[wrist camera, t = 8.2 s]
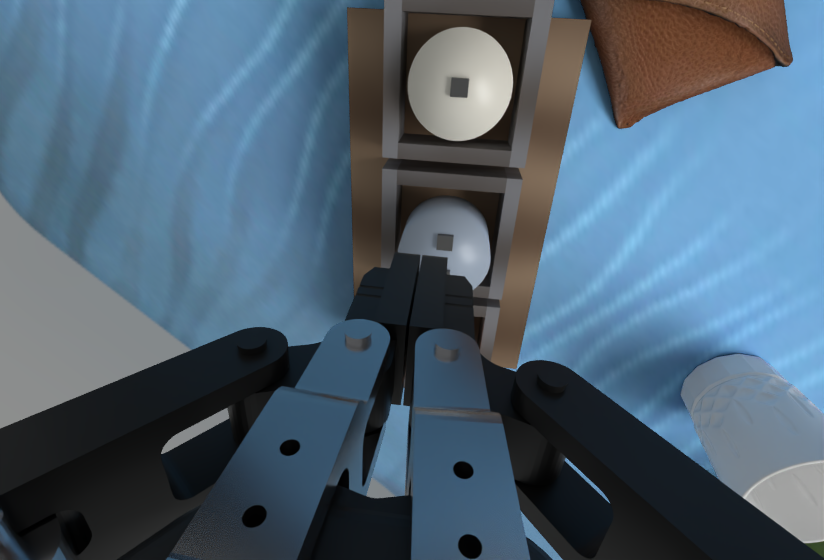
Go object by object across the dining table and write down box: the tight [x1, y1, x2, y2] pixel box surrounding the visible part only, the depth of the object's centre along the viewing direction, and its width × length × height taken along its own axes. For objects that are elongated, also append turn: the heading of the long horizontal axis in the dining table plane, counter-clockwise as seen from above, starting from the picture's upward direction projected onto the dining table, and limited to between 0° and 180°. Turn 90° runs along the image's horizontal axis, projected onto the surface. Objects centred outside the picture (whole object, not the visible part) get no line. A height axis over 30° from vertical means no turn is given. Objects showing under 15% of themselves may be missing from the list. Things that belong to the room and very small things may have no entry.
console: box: [347, 0, 591, 388], centre depth 27 cm, size 23×12×6 cm, turn 177°
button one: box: [408, 27, 513, 141], centre depth 21 cm, size 5×5×3 cm
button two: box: [398, 195, 491, 290], centre depth 24 cm, size 5×5×3 cm
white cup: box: [681, 354, 824, 543], centre depth 30 cm, size 8×8×10 cm
